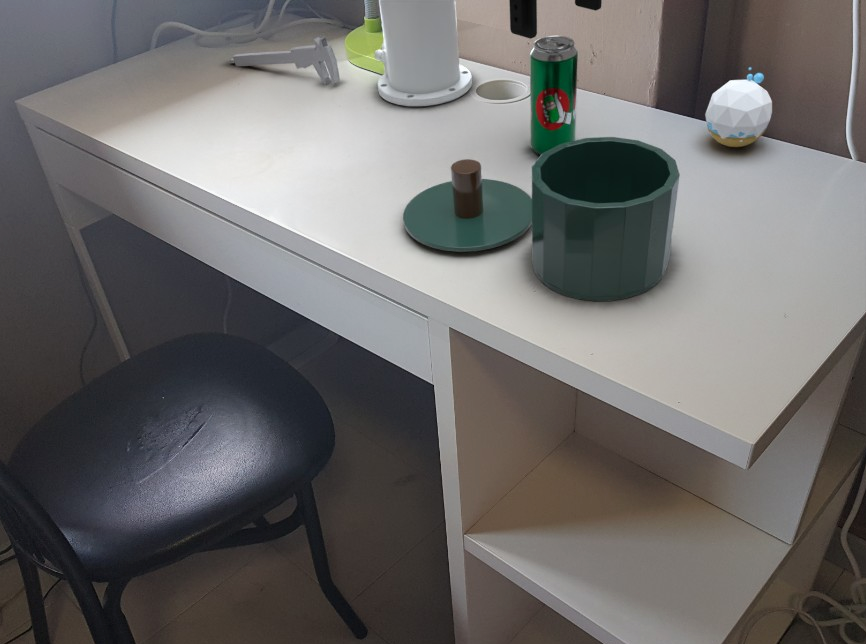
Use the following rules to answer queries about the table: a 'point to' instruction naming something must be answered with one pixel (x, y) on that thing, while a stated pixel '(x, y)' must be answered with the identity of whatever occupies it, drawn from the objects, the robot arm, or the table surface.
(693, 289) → the table surface
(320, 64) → the caliper
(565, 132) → the soda can
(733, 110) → the ornament
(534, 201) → the pot
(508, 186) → the lid
